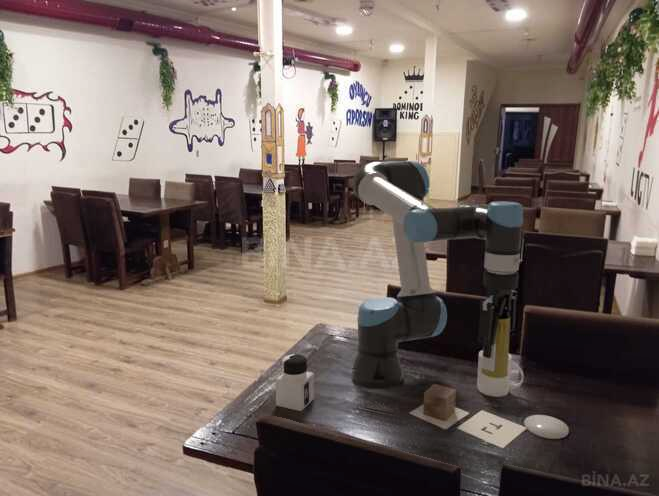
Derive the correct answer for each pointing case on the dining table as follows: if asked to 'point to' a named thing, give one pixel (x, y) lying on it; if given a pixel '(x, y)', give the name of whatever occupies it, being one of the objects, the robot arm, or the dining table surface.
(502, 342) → the vase
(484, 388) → the mug
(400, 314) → the robot arm
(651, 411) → the dining table surface
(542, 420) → the white round coaster
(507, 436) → the plate
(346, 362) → the dining table surface
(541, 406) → the dining table surface
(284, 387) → the container
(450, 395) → the walnut block
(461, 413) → the plate
